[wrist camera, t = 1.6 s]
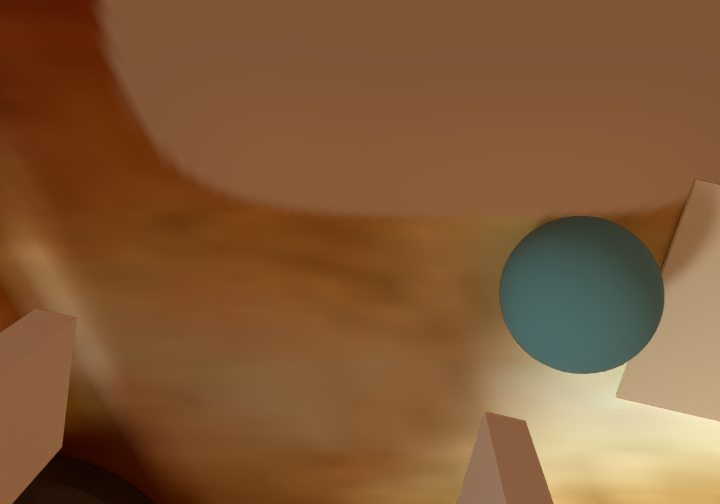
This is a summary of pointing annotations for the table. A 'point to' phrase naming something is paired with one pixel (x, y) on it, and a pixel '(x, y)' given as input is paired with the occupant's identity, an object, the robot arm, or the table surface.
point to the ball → (581, 294)
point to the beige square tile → (685, 318)
